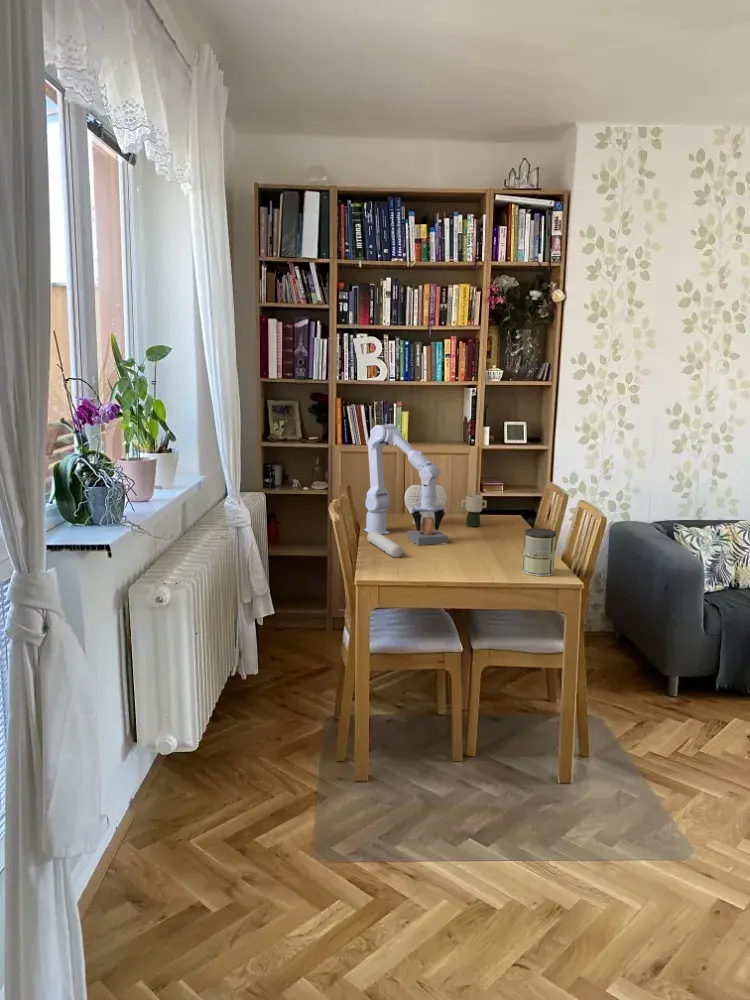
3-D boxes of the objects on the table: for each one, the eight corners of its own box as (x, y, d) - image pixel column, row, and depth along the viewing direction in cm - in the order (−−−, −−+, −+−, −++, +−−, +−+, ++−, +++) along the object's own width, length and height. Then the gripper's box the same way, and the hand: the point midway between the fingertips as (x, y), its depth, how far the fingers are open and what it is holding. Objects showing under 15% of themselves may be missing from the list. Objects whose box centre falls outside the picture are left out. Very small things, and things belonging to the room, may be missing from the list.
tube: (407, 547, 273) (381, 531, 295) (393, 543, 270) (369, 528, 293) (402, 561, 273) (377, 544, 296) (389, 558, 271) (365, 541, 294)
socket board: (407, 538, 303) (407, 531, 302) (435, 536, 306) (435, 529, 306) (418, 545, 291) (418, 537, 291) (447, 543, 295) (447, 536, 295)
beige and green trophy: (483, 524, 332) (484, 494, 330) (487, 527, 325) (489, 497, 323) (458, 524, 331) (459, 494, 329) (462, 527, 324) (463, 497, 322)
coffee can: (518, 568, 262) (520, 528, 260) (547, 568, 263) (550, 527, 261) (528, 576, 252) (530, 534, 250) (558, 576, 253) (561, 534, 251)
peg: (420, 540, 300) (421, 517, 299) (429, 539, 302) (430, 517, 300) (424, 542, 296) (425, 519, 295) (433, 542, 298) (434, 519, 296)
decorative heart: (443, 521, 335) (444, 483, 332) (447, 527, 325) (449, 487, 322) (402, 521, 334) (403, 482, 331) (405, 527, 324) (406, 486, 320)
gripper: (415, 498, 290) (413, 533, 292) (450, 496, 294) (448, 531, 297) (408, 494, 296) (407, 529, 299) (442, 493, 301) (441, 527, 303)
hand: (427, 530), depth 298 cm, fingers open, 7 cm apart
